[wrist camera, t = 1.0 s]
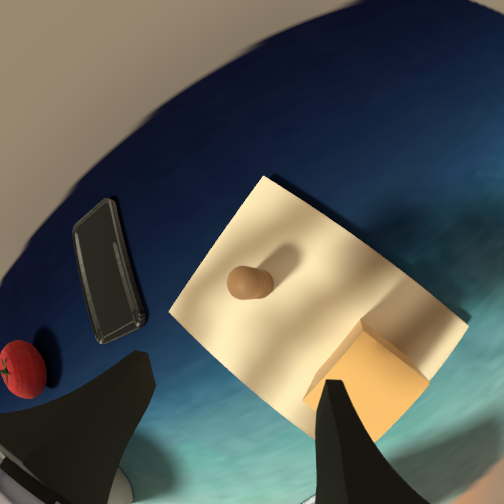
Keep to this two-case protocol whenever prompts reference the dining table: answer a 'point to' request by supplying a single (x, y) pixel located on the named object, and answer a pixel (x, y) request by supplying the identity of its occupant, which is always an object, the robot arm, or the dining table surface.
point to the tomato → (23, 369)
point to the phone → (107, 274)
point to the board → (303, 300)
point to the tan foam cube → (371, 379)
